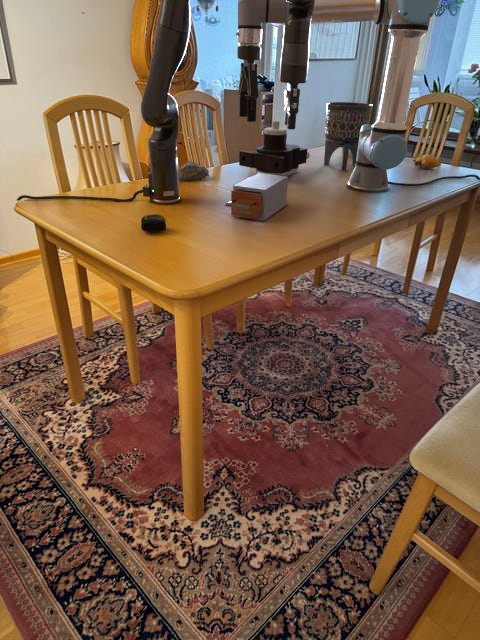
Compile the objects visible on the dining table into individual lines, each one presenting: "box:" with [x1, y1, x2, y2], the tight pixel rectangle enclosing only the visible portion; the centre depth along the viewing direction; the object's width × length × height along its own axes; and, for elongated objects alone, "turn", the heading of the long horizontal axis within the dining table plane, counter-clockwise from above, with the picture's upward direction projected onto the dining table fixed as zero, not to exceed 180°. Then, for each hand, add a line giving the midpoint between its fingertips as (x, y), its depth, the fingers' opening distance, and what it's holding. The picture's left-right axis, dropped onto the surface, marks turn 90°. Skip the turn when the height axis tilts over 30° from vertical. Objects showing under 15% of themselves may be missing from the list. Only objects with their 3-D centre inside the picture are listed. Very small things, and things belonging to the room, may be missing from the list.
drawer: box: [224, 189, 262, 220], centre depth 142 cm, size 24×9×8 cm, turn 154°
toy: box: [412, 154, 442, 170], centre depth 212 cm, size 11×6×15 cm
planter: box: [323, 101, 374, 172], centre depth 204 cm, size 20×20×26 cm
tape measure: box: [140, 213, 167, 233], centre depth 128 cm, size 7×7×4 cm
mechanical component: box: [238, 120, 311, 176], centre depth 191 cm, size 22×21×30 cm
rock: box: [178, 160, 210, 182], centre depth 182 cm, size 13×9×6 cm, turn 131°
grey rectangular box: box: [232, 173, 289, 222], centre depth 146 cm, size 20×11×10 cm, turn 155°
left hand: (289, 127), depth 132 cm, fingers open, 8 cm apart
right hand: (247, 119), depth 153 cm, fingers open, 13 cm apart
